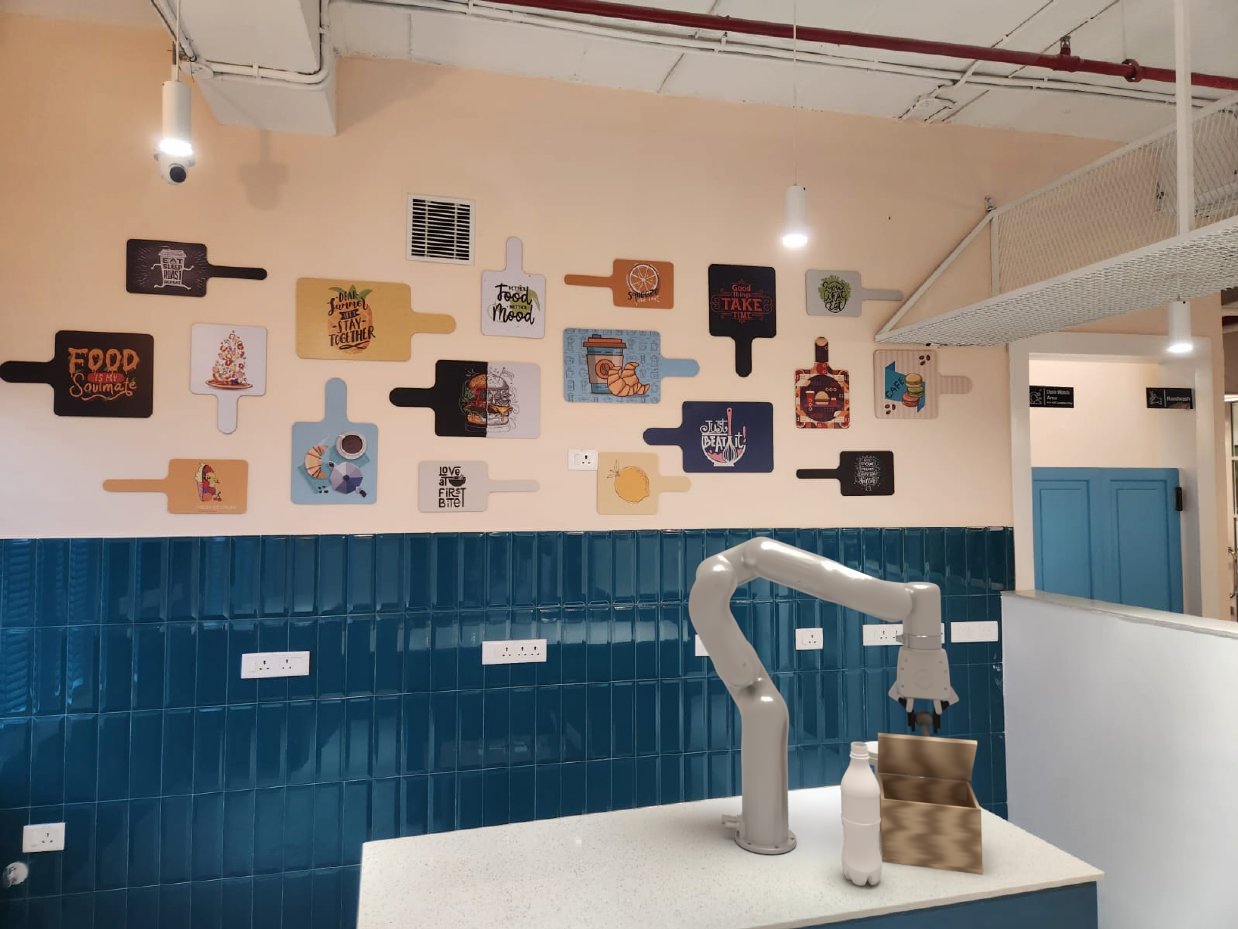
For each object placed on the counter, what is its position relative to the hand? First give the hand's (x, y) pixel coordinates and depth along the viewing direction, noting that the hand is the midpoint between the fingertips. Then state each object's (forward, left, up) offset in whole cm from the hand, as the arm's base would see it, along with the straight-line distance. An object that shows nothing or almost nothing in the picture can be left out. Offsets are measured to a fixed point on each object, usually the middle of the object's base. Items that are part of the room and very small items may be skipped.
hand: (923, 730), depth 158 cm
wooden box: (0, -3, -23) cm, 23 cm away
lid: (0, -1, -6) cm, 6 cm away
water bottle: (-13, -19, -23) cm, 33 cm away
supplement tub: (-8, +14, -23) cm, 28 cm away
